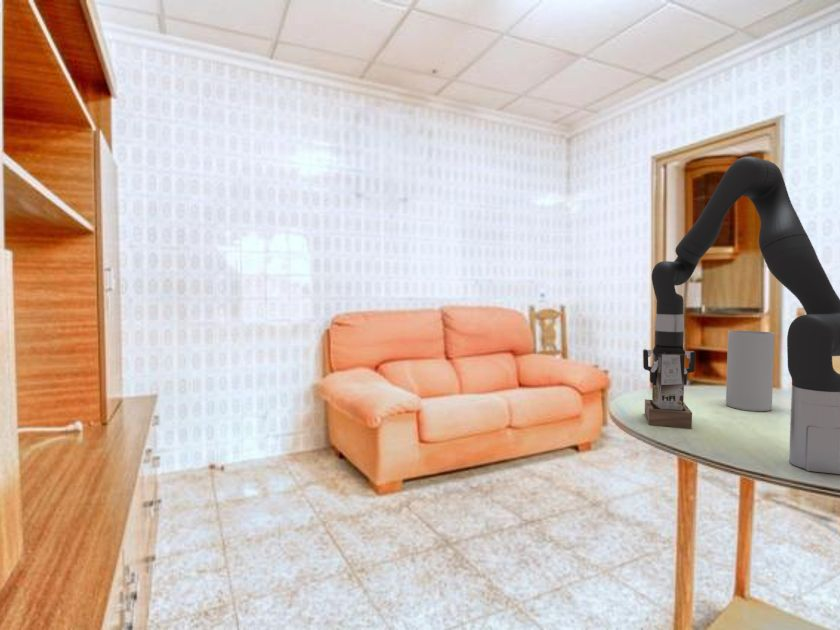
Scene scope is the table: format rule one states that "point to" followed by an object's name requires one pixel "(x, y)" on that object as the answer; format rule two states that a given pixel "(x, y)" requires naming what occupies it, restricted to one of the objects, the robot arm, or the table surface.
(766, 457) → the table surface
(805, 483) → the table surface
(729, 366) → the cylinder vase
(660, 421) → the brown wooden tray
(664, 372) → the coffee box
